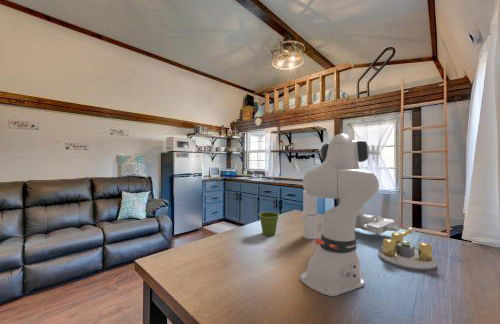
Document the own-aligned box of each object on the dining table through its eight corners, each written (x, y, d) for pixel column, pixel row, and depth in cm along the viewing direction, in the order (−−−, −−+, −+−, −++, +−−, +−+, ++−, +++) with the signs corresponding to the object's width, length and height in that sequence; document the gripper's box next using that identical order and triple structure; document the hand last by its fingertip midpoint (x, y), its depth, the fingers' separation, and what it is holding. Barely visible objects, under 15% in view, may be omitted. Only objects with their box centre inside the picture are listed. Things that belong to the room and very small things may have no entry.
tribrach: (426, 276, 81) (426, 254, 81) (369, 257, 97) (369, 238, 97) (442, 261, 93) (442, 241, 93) (389, 246, 109) (389, 229, 109)
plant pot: (255, 232, 130) (254, 213, 130) (272, 229, 135) (272, 211, 135) (264, 239, 119) (264, 218, 119) (283, 235, 124) (283, 215, 124)
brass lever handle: (400, 249, 99) (400, 236, 99) (389, 246, 102) (389, 233, 102) (417, 239, 111) (417, 227, 111) (406, 237, 114) (406, 225, 114)
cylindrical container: (313, 240, 118) (313, 192, 117) (301, 237, 122) (301, 191, 122) (318, 236, 123) (318, 191, 123) (306, 233, 128) (306, 190, 127)
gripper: (360, 220, 119) (389, 227, 107) (378, 215, 131) (405, 220, 120) (360, 232, 119) (389, 240, 107) (378, 225, 131) (405, 231, 120)
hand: (398, 229), depth 114 cm, fingers closed
